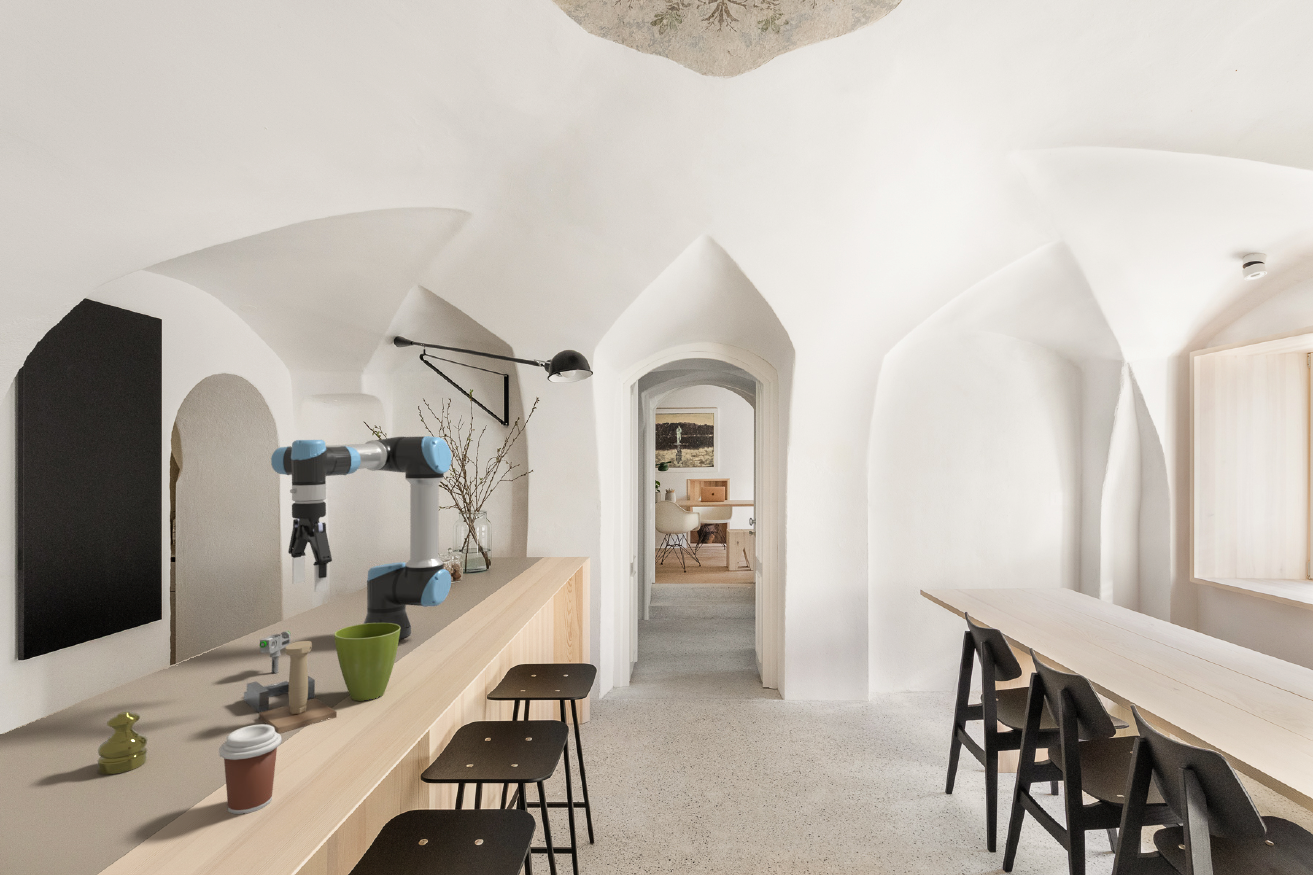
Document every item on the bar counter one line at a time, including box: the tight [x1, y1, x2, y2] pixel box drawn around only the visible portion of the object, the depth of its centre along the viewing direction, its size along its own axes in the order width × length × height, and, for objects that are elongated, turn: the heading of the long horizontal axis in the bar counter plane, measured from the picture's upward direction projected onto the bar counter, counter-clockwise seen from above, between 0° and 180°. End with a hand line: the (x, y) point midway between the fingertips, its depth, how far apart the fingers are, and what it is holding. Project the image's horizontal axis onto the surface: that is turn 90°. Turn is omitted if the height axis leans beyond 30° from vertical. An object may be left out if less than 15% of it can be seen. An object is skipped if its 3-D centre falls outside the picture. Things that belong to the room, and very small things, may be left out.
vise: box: [243, 675, 316, 713], centre depth 160 cm, size 12×13×4 cm
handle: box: [285, 640, 313, 714], centre depth 149 cm, size 5×6×15 cm
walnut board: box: [258, 697, 338, 734], centre depth 148 cm, size 12×12×1 cm
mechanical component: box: [259, 630, 291, 674], centre depth 179 cm, size 3×10×10 cm, turn 174°
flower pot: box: [333, 623, 400, 702], centre depth 162 cm, size 15×15×16 cm
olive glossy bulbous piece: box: [97, 710, 148, 775], centre depth 126 cm, size 7×7×10 cm
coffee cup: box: [218, 723, 282, 815], centre depth 112 cm, size 9×9×12 cm
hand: (309, 586), depth 165 cm, fingers open, 13 cm apart
